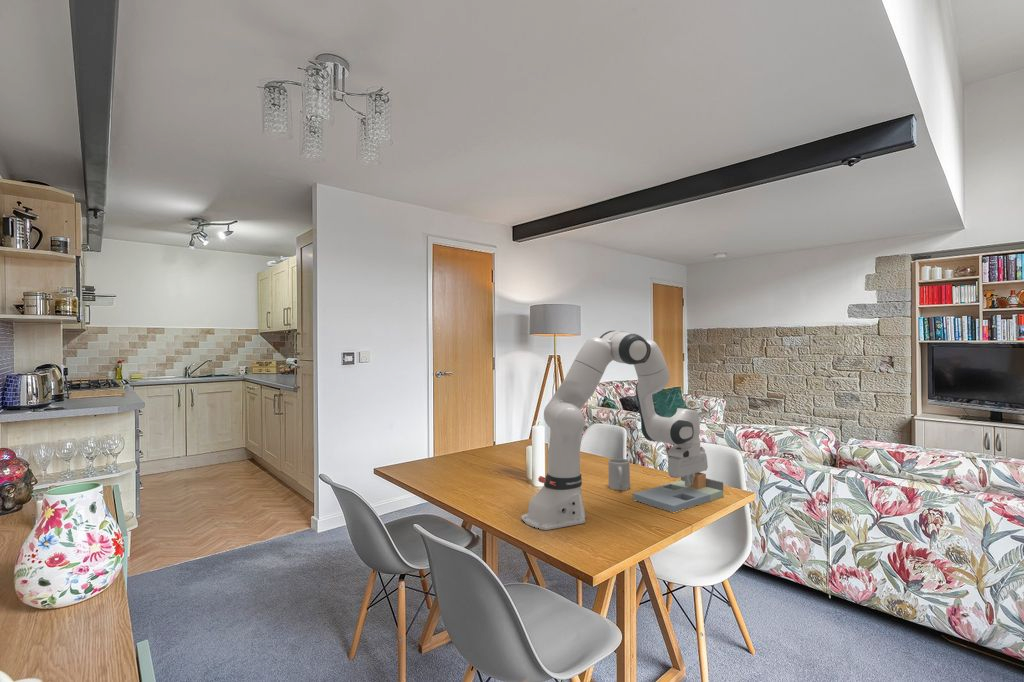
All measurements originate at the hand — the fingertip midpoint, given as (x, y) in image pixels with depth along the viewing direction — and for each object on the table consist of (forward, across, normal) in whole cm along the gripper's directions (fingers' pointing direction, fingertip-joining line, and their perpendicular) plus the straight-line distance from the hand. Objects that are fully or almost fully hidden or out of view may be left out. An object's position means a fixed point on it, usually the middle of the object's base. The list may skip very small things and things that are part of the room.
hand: (688, 485), depth 184 cm
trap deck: (+4, +6, 0) cm, 7 cm away
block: (+1, -5, 0) cm, 5 cm away
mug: (+4, +14, -22) cm, 27 cm away
